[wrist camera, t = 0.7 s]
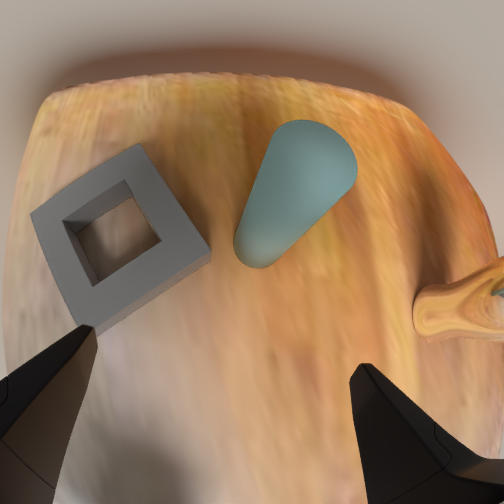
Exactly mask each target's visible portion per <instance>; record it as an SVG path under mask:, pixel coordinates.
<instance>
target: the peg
mask: <svg viewBox="0 0 504 504" xmlns="http://www.w3.org/2000/svg"><path fill="white" fill-rule="evenodd" d="M357 169H358V168H357V161H356V158H355V155H354V153H353V151H352V149H351V147H350V146H349V144H348V143H347V142H346V141H345V139H344V138H343V137H342V136H341V135H339V134H338V133H337V132H336V131H334V130H333V129H331V128H329V127H328V126H326V125H323V124H321V123H318V122H315V121H310V120H294V121H290V122H287V123H285V124H283V125H282V126H280V127H279V128H278V129H277V130H276V131H275V132H274V134H273V136H272V138H271V140H270V143H269V146H268V148H267V151H266V153H265V156H264V159H263V161H262V164H261V166H260V169H259V172H258V174H257V177H256V180H255V182H254V185H253V188H252V190H251V193H250V196H249V198H248V201H247V204H246V206H245V209H244V212H243V215H242V217H241V220H240V223H239V225H238V228H237V231H236V234H235V236H234V241H233V246H234V251H235V253H236V255H237V257H238V258H239V260H240V261H241V262H242V263H244V264H245V265H247V266H249V267H252V268H265V267H268V266H270V265H272V264H273V263H274V262H275V261H276V260H278V259H279V258H280V257H281V256H282V255H283V254H284V253H285V252H286V251H287V250H288V249H289V248H290V247H291V246H292V245H293V244H294V243H295V242H296V241H297V240H298V239H299V238H300V237H301V236H302V235H303V234H305V233H306V232H307V231H308V230H309V229H310V228H311V227H312V226H313V225H314V224H315V223H316V222H317V221H318V220H319V219H320V218H321V217H322V216H323V215H324V214H325V213H326V212H327V211H328V210H329V209H330V208H331V207H332V206H333V205H334V204H335V203H336V202H337V201H338V200H339V199H340V198H341V197H342V196H343V195H344V194H345V193H346V192H347V191H348V190H349V189H350V188H351V187H352V186H353V184H354V182H355V180H356V177H357Z"/></svg>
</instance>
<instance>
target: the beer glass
mask: <svg viewBox="0 0 504 504" xmlns="http://www.w3.org/2000/svg"><path fill="white" fill-rule="evenodd" d="M413 323H414V327H415V329H416V332H417V334H418V335H419V337H420V338H421V339H422V340H424V341H425V342H428V343H437V342H441V341H444V340H447V339H450V338H468V339H474V340H480V341H487V342H498V343H504V256H502V257H500V258H497V259H495V260H493V261H491V262H489V263H487V264H486V265H484V266H482V267H480V268H479V269H477V270H475V271H474V272H472V273H470V274H469V275H467V276H465V277H463V278H462V279H460V280H458V281H456V282H453V283H449V284H433V285H428V286H425V287H424V288H422V289H421V290H420V291H419V293H418V294H417V296H416V298H415V301H414V305H413Z"/></svg>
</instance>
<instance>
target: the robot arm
mask: <svg viewBox="0 0 504 504" xmlns="http://www.w3.org/2000/svg"><path fill="white" fill-rule="evenodd" d="M97 348H98V344H97V338H96V332H95V328H94V327H93V326H89V325H85V324H82V325H80V326H79V327H77V328H76V329H74V330H73V331H71V332H70V333H68V334H67V335H65V336H64V337H62V338H61V339H59V340H58V341H56V342H55V343H54V344H52V345H51V346H49V347H48V348H46V349H45V350H43V351H42V352H40V353H39V354H37V355H36V356H35V357H33V358H32V359H30V360H29V361H27V362H26V363H25V364H23V365H22V366H20V367H19V368H17V369H16V370H15V371H13V372H12V373H10V374H9V375H8V376H6V377H5V378H3V379H2V380H1V381H0V504H52V503H53V499H54V495H55V489H56V486H57V482H58V478H59V474H60V470H61V467H62V463H63V460H64V456H65V453H66V449H67V446H68V443H69V440H70V436H71V433H72V430H73V427H74V424H75V421H76V418H77V415H78V413H79V410H80V407H81V404H82V401H83V399H84V396H85V393H86V390H87V387H88V383H89V379H90V375H91V371H92V368H93V364H94V360H95V357H96V353H97ZM349 385H350V394H351V403H352V414H353V421H354V426H355V431H356V436H357V441H358V447H359V452H360V458H361V463H362V469H363V475H364V481H365V487H366V493H367V500H368V504H504V459H487V458H483V457H481V456H478V455H477V454H475V453H474V452H473V451H471V450H470V449H469V448H467V447H466V446H465V445H463V444H462V443H461V442H459V441H458V440H457V439H455V438H454V437H453V436H451V435H450V434H449V433H448V432H447V431H445V430H444V429H443V428H442V427H441V426H440V425H439V424H437V423H436V422H435V421H434V420H433V419H432V418H431V417H430V416H429V415H427V414H426V413H425V412H424V411H423V410H422V409H421V408H420V407H419V406H417V405H416V404H415V403H414V402H413V401H412V400H411V399H410V398H409V397H408V396H406V395H405V394H404V393H403V392H402V391H401V390H400V389H399V388H398V387H396V386H395V385H394V384H393V383H392V382H391V381H390V380H389V379H388V378H387V377H385V376H384V375H383V374H382V373H381V372H380V371H379V370H378V369H377V368H376V367H374V366H373V365H372V364H370V363H361V364H359V366H358V367H357V369H356V370H355V372H354V373H353V375H352V376H351V378H350V382H349Z"/></svg>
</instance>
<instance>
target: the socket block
mask: <svg viewBox="0 0 504 504" xmlns="http://www.w3.org/2000/svg"><path fill="white" fill-rule="evenodd" d="M131 196H133V198H134V200H135V201H136V203H137V205H138V207H139V208H140V210H141V212H142V213H143V215H144V217H145V218H146V220H147V222H148V223H149V225H150V227H151V228H152V230H153V231H154V233H155V235H156V236H157V238H158V239H159V241H160V243H158V244H157V245H155V246H153V247H152V248H150V249H149V250H147V251H146V252H144V253H143V254H141V255H140V256H138V257H137V258H135V259H134V260H132V261H130V262H129V263H127V264H126V265H124V266H123V267H122V268H120V269H119V270H117V271H116V272H114V273H113V274H111V275H110V276H108V277H107V278H105V279H104V280H102V281H101V282H99V280H98V278H97V276H96V274H95V273H94V271H93V269H92V267H91V265H90V263H89V261H88V259H87V257H86V255H85V253H84V251H83V248H82V246H81V244H80V242H79V240H78V238H77V236H76V232H78V231H79V230H81V229H82V228H84V227H85V226H87V225H88V224H89V223H91V222H92V221H94V220H95V219H97V218H98V217H100V216H101V215H103V214H104V213H106V212H107V211H109V210H111V209H112V208H114V207H115V206H117V205H118V204H120V203H122V202H123V201H125V200H126V199H128V198H130V197H131ZM30 216H31V219H32V222H33V225H34V228H35V231H36V234H37V237H38V240H39V242H40V245H41V248H42V250H43V253H44V255H45V258H46V260H47V263H48V265H49V268H50V270H51V272H52V275H53V277H54V279H55V281H56V284H57V286H58V288H59V290H60V292H61V294H62V297H63V299H64V301H65V303H66V305H67V307H68V309H69V311H70V313H71V315H72V317H73V319H74V320H75V322H76V324H77V326H78V327H79V326H80V325H82V324H85V325H89V326H93V327H94V328H95V332H96V336H99V335H100V334H102V333H103V332H105V331H106V330H108V329H109V328H110V327H112V326H113V325H115V324H116V323H118V322H119V321H121V320H122V319H124V318H125V317H127V316H128V315H130V314H131V313H133V312H134V311H136V310H137V309H139V308H140V307H142V306H143V305H145V304H146V303H147V302H149V301H150V300H152V299H153V298H155V297H156V296H158V295H159V294H161V293H162V292H164V291H165V290H167V289H168V288H170V287H171V286H173V285H174V284H176V283H177V282H179V281H180V280H182V279H184V278H185V277H187V276H188V275H190V274H191V273H193V272H194V271H196V270H197V269H199V268H200V267H202V266H203V265H205V264H206V263H208V262H209V261H210V258H211V249H210V248H209V246H208V245H207V243H206V242H205V241H204V239H203V238H202V236H201V235H200V233H199V232H198V230H197V229H196V227H195V226H194V225H193V223H192V222H191V220H190V219H189V217H188V216H187V214H186V213H185V211H184V210H183V208H182V207H181V205H180V204H179V202H178V201H177V199H176V198H175V196H174V195H173V193H172V192H171V190H170V189H169V187H168V186H167V184H166V183H165V181H164V180H163V178H162V177H161V175H160V174H159V172H158V171H157V169H156V168H155V166H154V164H153V163H152V161H151V160H150V158H149V157H148V155H147V154H146V152H145V151H144V149H143V147H142V146H141V144H140V143H138V144H136V145H134V146H132V147H130V148H129V149H127V150H125V151H123V152H122V153H120V154H118V155H116V156H115V157H113V158H111V159H109V160H108V161H106V162H104V163H103V164H101V165H100V166H98V167H96V168H95V169H93V170H92V171H90V172H88V173H87V174H85V175H84V176H82V177H81V178H79V179H78V180H76V181H75V182H73V183H72V184H70V185H69V186H67V187H66V188H64V189H63V190H61V191H60V192H59V193H57V194H56V195H54V196H53V197H52V198H50V199H49V200H48V201H46V202H45V203H44V204H42V205H41V206H40V207H38V208H37V209H36V210H34V211H33V212H32V213H30Z"/></svg>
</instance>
